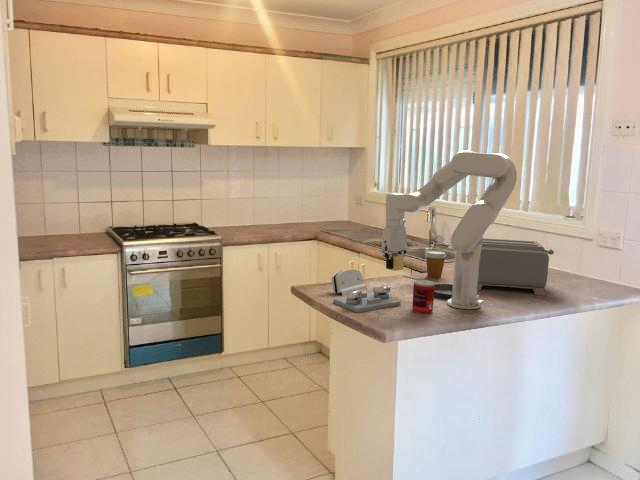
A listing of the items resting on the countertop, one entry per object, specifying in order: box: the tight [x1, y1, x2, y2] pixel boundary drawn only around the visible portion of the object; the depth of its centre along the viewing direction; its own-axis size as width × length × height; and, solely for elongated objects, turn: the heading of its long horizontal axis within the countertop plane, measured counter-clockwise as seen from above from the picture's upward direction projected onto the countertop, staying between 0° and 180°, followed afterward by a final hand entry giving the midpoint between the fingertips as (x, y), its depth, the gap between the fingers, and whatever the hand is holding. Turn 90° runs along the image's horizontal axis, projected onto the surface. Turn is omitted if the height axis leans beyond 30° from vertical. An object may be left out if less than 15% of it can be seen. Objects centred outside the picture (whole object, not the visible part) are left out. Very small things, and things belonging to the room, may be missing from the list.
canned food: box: [411, 279, 436, 315], centre depth 211 cm, size 8×8×11 cm
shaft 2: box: [372, 285, 391, 300], centre depth 222 cm, size 6×4×6 cm
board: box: [332, 292, 402, 313], centre depth 218 cm, size 21×15×3 cm
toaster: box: [477, 237, 555, 296], centre depth 251 cm, size 19×35×20 cm, turn 80°
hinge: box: [331, 268, 368, 297], centre depth 236 cm, size 17×5×10 cm, turn 137°
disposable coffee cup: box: [425, 250, 447, 280], centre depth 266 cm, size 10×10×12 cm
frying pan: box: [402, 275, 453, 300], centre depth 241 cm, size 18×32×4 cm, turn 46°
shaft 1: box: [346, 290, 363, 305], centre depth 213 cm, size 6×4×6 cm
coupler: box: [385, 252, 404, 272], centre depth 231 cm, size 5×5×7 cm
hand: (394, 267), depth 232 cm, fingers closed on coupler, 5 cm apart
